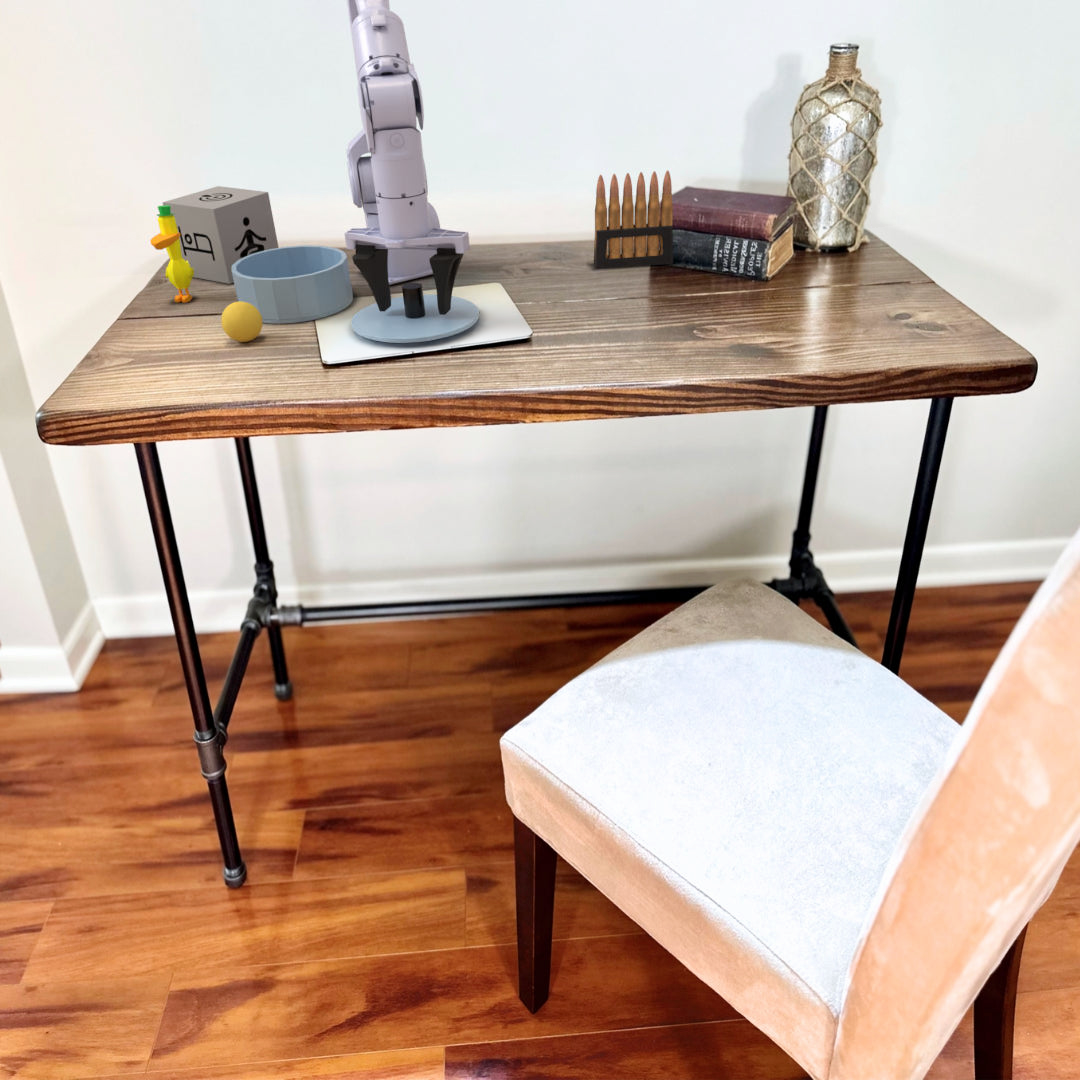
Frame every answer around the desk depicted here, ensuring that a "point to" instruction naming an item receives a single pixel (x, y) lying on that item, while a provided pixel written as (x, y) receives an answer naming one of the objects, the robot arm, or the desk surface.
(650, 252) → the ammunition clip
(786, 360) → the desk surface
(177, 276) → the toy figure
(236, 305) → the ball
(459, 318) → the lid
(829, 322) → the desk surface
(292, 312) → the pot
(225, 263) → the icon cube
